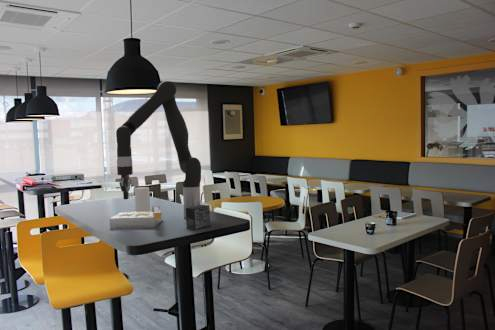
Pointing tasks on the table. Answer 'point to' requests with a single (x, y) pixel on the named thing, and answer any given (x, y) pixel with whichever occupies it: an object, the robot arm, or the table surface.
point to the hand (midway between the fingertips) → (126, 199)
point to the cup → (142, 199)
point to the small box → (198, 217)
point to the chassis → (134, 220)
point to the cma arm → (156, 212)
